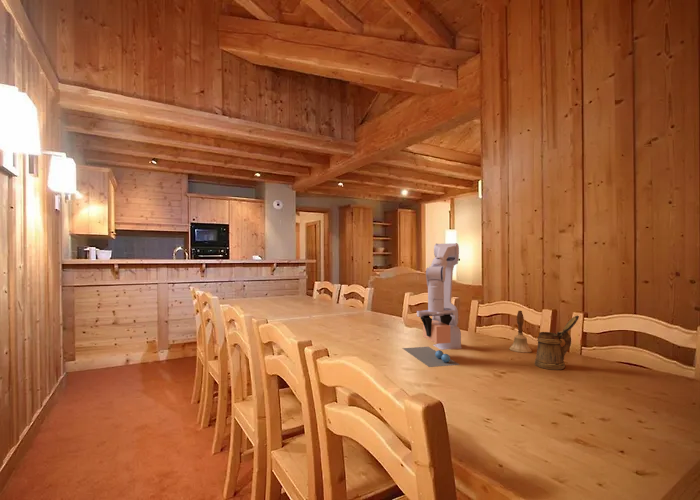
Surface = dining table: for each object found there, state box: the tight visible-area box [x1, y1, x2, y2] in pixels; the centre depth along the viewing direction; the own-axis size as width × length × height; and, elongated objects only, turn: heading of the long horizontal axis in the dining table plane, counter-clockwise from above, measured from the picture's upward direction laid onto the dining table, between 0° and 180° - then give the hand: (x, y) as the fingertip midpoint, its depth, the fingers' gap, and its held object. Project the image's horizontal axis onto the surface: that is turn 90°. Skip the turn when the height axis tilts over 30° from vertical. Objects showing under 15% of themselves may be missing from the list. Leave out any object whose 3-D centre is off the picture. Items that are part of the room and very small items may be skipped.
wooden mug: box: [534, 315, 580, 371], centre depth 121 cm, size 9×14×18 cm, turn 68°
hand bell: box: [509, 310, 533, 354], centre depth 144 cm, size 8×8×16 cm
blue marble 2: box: [441, 353, 451, 363], centre depth 125 cm, size 3×3×3 cm
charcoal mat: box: [402, 346, 461, 368], centre depth 133 cm, size 12×26×1 cm, turn 12°
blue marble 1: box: [435, 349, 445, 359], centre depth 130 cm, size 3×3×3 cm
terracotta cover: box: [422, 320, 451, 344], centre depth 130 cm, size 5×11×6 cm, turn 13°
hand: (436, 335), depth 130 cm, fingers closed on terracotta cover, 5 cm apart
